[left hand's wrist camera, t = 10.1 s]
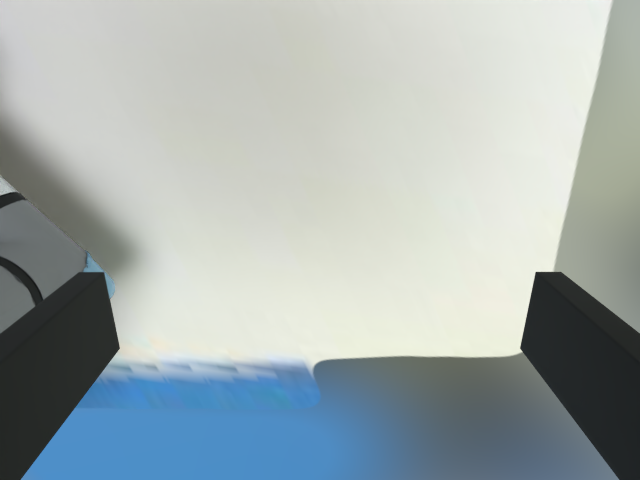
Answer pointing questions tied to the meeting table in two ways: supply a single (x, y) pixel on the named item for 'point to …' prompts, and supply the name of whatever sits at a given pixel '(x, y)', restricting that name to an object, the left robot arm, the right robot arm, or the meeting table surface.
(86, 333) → the left robot arm
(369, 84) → the meeting table surface
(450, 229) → the meeting table surface
